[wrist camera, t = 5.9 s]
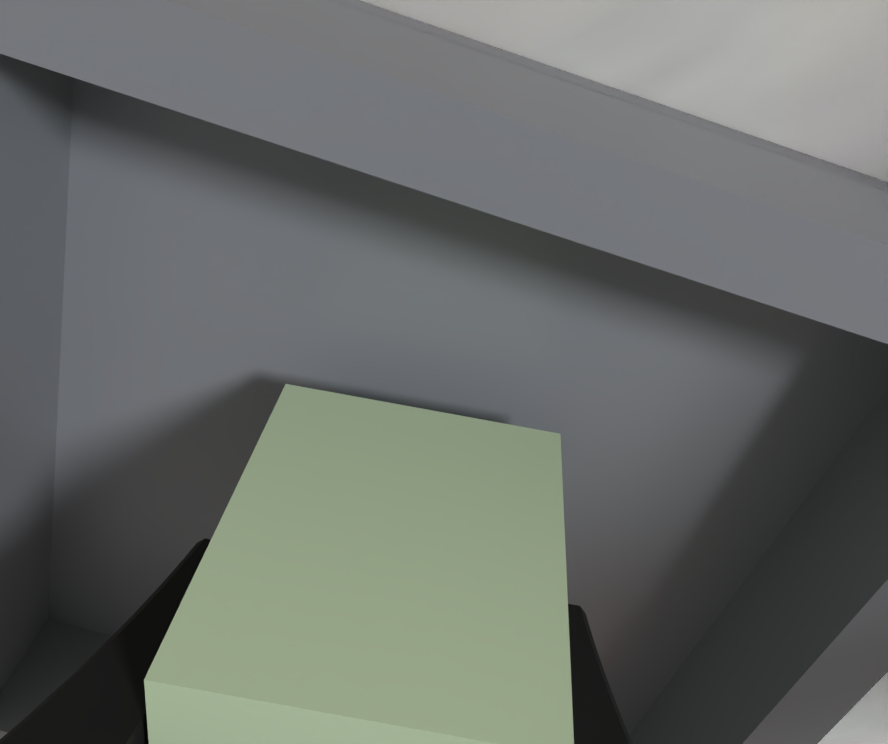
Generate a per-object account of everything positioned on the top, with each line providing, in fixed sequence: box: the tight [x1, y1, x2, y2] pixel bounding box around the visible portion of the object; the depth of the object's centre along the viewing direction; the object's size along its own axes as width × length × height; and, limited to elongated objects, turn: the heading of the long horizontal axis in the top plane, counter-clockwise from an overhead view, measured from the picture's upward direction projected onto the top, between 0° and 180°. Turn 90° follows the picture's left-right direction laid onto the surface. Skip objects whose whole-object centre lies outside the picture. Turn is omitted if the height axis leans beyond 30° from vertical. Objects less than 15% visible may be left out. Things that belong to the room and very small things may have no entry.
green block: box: [144, 384, 574, 744], centre depth 11 cm, size 4×4×5 cm
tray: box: [0, 0, 888, 744], centre depth 13 cm, size 14×14×3 cm
